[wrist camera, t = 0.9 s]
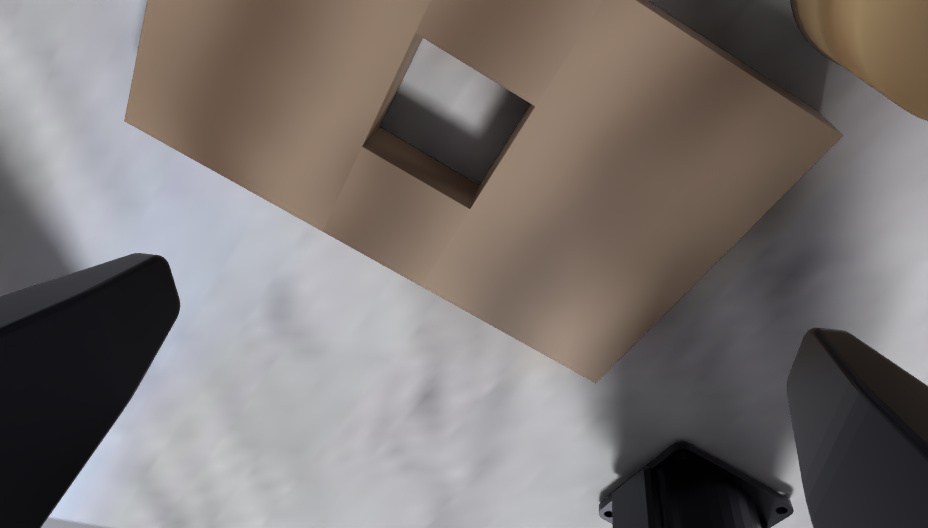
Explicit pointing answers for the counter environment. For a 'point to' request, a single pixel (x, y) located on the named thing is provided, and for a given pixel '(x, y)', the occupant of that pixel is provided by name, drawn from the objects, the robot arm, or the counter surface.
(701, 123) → the walnut board
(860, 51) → the oak peg
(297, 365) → the counter surface
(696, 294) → the counter surface
